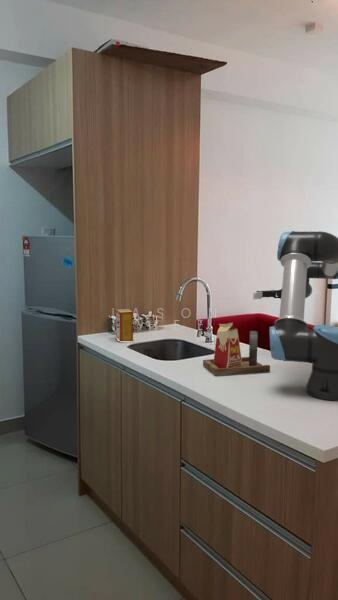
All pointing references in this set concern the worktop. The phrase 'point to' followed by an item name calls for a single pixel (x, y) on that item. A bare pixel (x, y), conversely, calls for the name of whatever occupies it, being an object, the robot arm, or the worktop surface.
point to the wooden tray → (247, 362)
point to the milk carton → (227, 347)
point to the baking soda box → (124, 325)
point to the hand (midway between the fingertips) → (268, 297)
